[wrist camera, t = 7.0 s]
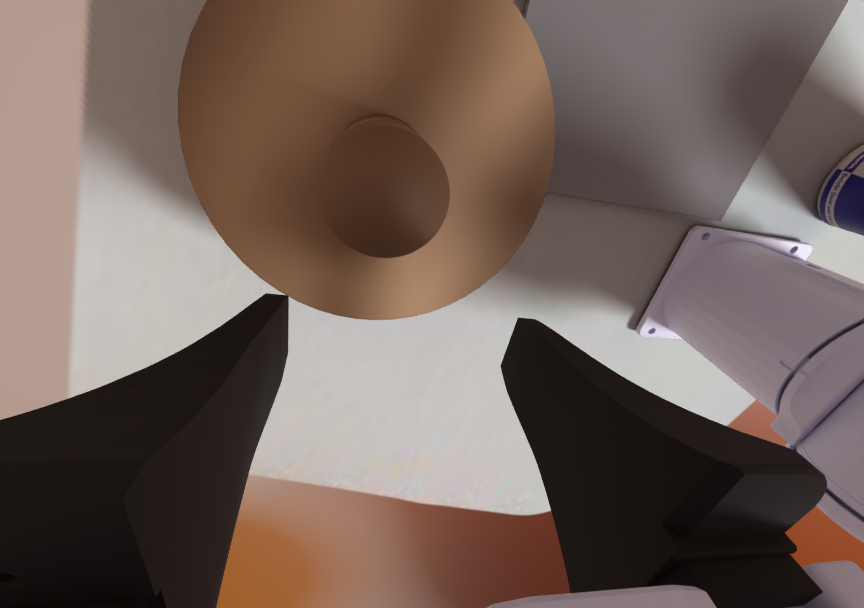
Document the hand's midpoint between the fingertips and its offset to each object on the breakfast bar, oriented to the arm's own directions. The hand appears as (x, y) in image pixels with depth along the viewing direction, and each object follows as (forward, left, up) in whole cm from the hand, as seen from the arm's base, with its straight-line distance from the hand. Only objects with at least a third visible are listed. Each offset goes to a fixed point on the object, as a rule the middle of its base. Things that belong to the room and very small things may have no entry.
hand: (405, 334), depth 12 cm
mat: (-12, -11, -10) cm, 19 cm away
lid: (+1, -4, -5) cm, 7 cm away
